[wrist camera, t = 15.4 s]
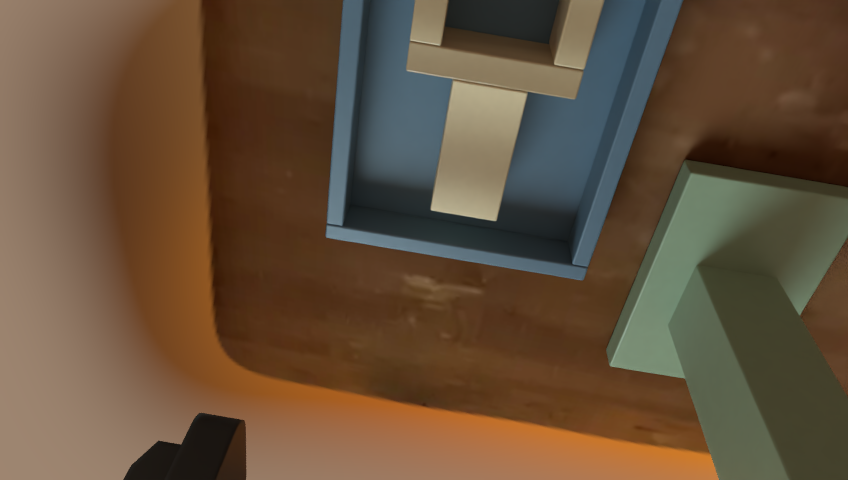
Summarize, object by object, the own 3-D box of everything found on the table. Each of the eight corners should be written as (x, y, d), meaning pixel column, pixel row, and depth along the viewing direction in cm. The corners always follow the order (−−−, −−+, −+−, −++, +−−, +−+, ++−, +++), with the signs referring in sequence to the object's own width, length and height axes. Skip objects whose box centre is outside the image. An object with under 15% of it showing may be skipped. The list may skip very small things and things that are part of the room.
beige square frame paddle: (436, -131, 18) (431, -123, 16) (617, -99, 18) (630, -89, 17) (394, 174, 23) (387, 204, 22) (535, 198, 24) (538, 228, 22)
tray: (379, -311, 16) (366, -322, 15) (744, -245, 17) (773, -249, 15) (335, 208, 25) (324, 238, 23) (577, 249, 25) (583, 281, 24)
